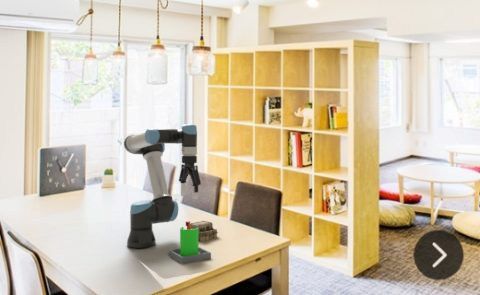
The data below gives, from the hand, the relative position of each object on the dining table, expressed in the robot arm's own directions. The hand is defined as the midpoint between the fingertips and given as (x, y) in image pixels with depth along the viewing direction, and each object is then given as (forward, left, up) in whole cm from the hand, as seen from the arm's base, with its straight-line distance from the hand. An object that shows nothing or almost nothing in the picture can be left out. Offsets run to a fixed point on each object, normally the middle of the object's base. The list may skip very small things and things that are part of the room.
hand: (189, 197), depth 207 cm
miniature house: (-21, +18, -31) cm, 42 cm away
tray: (0, 0, -30) cm, 30 cm away
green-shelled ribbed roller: (+1, 0, -30) cm, 30 cm away
